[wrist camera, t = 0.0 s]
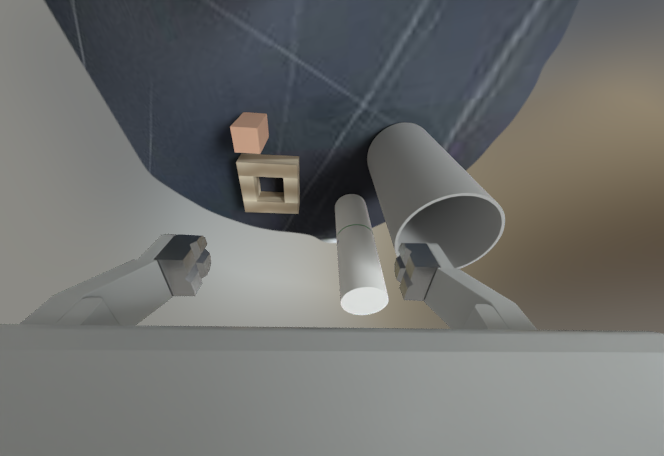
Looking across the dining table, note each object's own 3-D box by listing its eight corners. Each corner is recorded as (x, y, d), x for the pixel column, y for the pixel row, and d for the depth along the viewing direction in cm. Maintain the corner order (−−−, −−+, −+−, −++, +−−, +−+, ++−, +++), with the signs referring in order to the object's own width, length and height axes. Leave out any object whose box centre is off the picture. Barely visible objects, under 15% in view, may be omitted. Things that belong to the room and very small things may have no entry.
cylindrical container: (333, 218, 58) (337, 314, 39) (336, 192, 53) (344, 285, 34) (362, 220, 59) (381, 316, 39) (369, 195, 54) (394, 288, 35)
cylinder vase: (391, 193, 54) (429, 285, 35) (353, 154, 48) (373, 239, 29) (442, 154, 49) (521, 237, 29) (406, 105, 43) (475, 169, 23)
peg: (243, 112, 43) (229, 126, 37) (266, 113, 43) (257, 128, 37) (247, 135, 45) (234, 152, 39) (268, 136, 46) (260, 153, 39)
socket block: (241, 153, 47) (235, 162, 44) (298, 156, 48) (297, 165, 45) (249, 201, 54) (245, 211, 51) (299, 203, 55) (298, 213, 52)
